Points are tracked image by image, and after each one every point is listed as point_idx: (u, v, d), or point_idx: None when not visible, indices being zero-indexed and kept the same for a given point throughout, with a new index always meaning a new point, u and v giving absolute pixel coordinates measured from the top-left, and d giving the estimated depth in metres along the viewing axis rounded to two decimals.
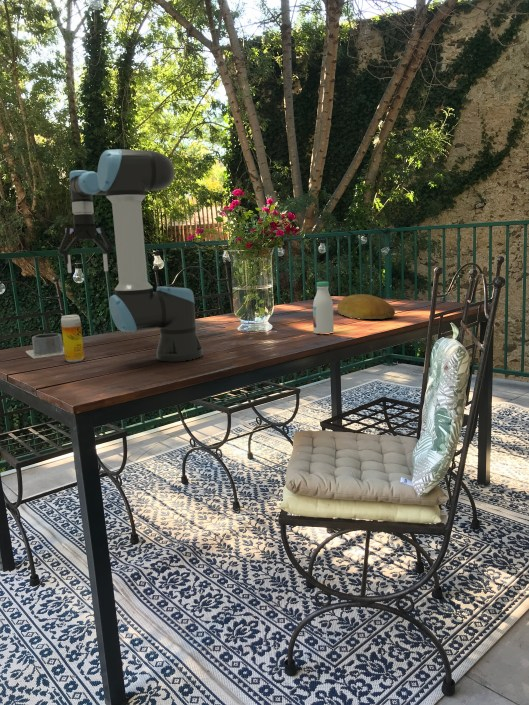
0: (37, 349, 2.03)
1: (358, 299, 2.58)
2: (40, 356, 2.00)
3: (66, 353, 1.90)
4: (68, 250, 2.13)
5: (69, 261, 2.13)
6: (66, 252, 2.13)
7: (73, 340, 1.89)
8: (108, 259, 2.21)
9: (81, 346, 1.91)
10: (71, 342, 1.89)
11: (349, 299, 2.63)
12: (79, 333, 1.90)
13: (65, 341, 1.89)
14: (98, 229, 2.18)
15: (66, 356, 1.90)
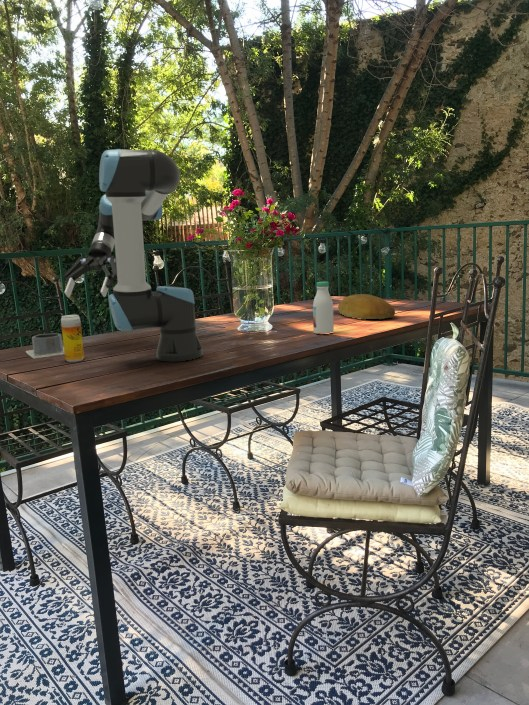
0: (37, 349, 2.03)
1: (358, 299, 2.58)
2: (40, 356, 2.00)
3: (66, 353, 1.90)
4: (72, 274, 2.04)
5: (68, 283, 2.02)
6: (69, 275, 2.04)
7: (73, 340, 1.89)
8: (108, 283, 1.99)
9: (81, 346, 1.91)
10: (71, 342, 1.89)
11: (349, 299, 2.63)
12: (79, 333, 1.90)
13: (65, 341, 1.89)
14: (109, 258, 2.06)
15: (66, 356, 1.90)
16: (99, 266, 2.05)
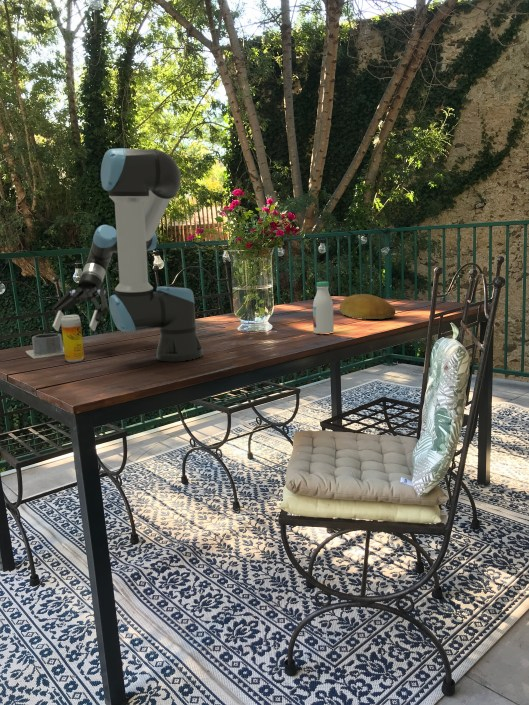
0: (37, 349, 2.03)
1: (359, 299, 2.58)
2: (40, 356, 2.00)
3: (66, 353, 1.90)
4: (61, 306, 1.99)
5: (57, 316, 1.96)
6: (58, 308, 1.98)
7: (73, 340, 1.89)
8: (97, 316, 1.94)
9: (81, 346, 1.91)
10: (71, 342, 1.89)
11: (350, 299, 2.64)
12: (79, 333, 1.90)
13: (65, 341, 1.89)
14: (99, 290, 2.00)
15: (66, 356, 1.90)
16: (89, 298, 1.99)
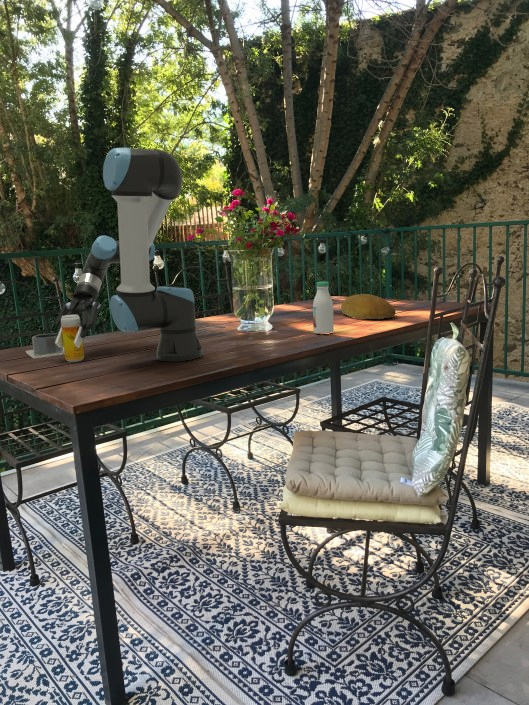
0: (37, 349, 2.03)
1: (359, 299, 2.58)
2: (40, 356, 2.00)
3: (66, 353, 1.90)
4: None
5: (59, 332, 1.90)
6: (60, 324, 1.92)
7: (73, 340, 1.89)
8: (82, 333, 1.89)
9: (81, 346, 1.91)
10: (71, 341, 1.89)
11: (351, 299, 2.64)
12: None
13: (65, 341, 1.89)
14: (94, 303, 1.96)
15: (66, 356, 1.90)
16: None
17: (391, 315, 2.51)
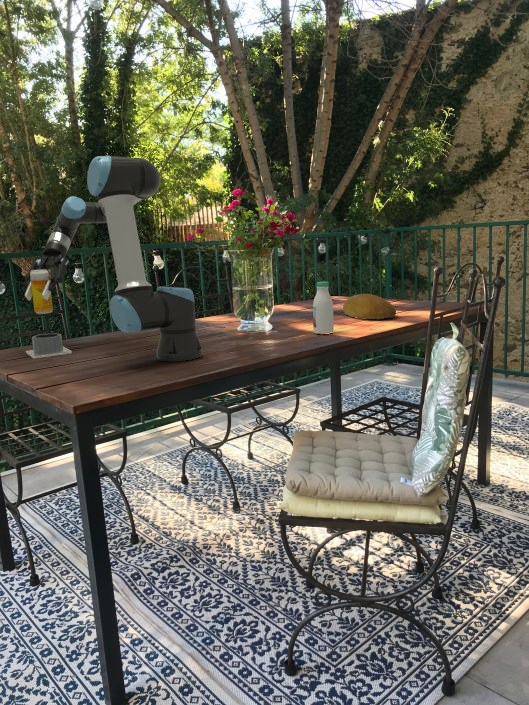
0: (37, 349, 2.03)
1: (360, 299, 2.59)
2: (40, 356, 2.00)
3: (35, 305, 2.02)
4: None
5: (29, 286, 2.02)
6: (30, 278, 2.04)
7: (42, 293, 2.00)
8: (50, 286, 2.01)
9: (49, 299, 2.03)
10: (39, 294, 2.00)
11: (352, 298, 2.65)
12: None
13: (34, 294, 2.01)
14: None
15: (35, 308, 2.02)
16: None
17: (391, 315, 2.51)
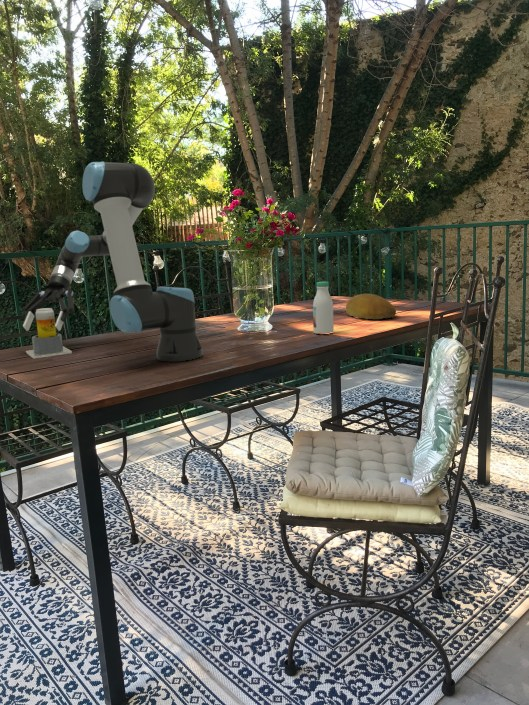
0: (37, 349, 2.03)
1: (360, 298, 2.60)
2: (40, 356, 2.00)
3: None
4: (31, 307, 2.08)
5: (27, 316, 2.06)
6: (28, 309, 2.08)
7: (47, 332, 2.03)
8: (63, 317, 2.03)
9: None
10: (44, 333, 2.03)
11: (354, 298, 2.66)
12: (52, 325, 2.04)
13: (39, 332, 2.04)
14: (67, 291, 2.10)
15: None
16: (57, 299, 2.09)
17: (390, 315, 2.51)
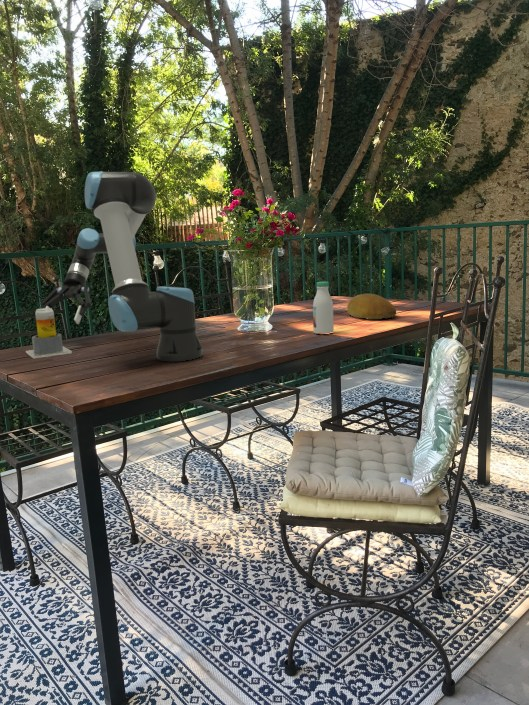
0: (37, 349, 2.03)
1: (361, 298, 2.60)
2: (40, 356, 2.00)
3: None
4: (48, 302, 2.19)
5: None
6: (46, 304, 2.19)
7: (47, 332, 2.03)
8: (81, 311, 2.15)
9: None
10: (44, 333, 2.03)
11: (355, 298, 2.66)
12: (52, 325, 2.04)
13: (39, 332, 2.04)
14: (83, 287, 2.21)
15: None
16: (74, 295, 2.20)
17: (390, 315, 2.51)
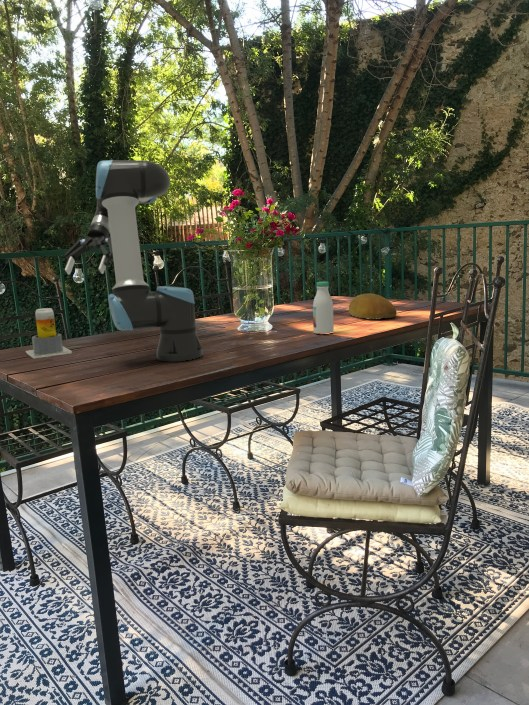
0: (37, 349, 2.03)
1: (361, 298, 2.60)
2: (40, 356, 2.00)
3: None
4: (72, 253, 2.18)
5: (69, 261, 2.16)
6: (69, 255, 2.18)
7: (47, 332, 2.03)
8: (105, 260, 2.13)
9: None
10: (44, 333, 2.03)
11: (356, 298, 2.66)
12: (52, 325, 2.04)
13: (39, 332, 2.04)
14: None
15: None
16: (97, 246, 2.19)
17: (390, 315, 2.51)
